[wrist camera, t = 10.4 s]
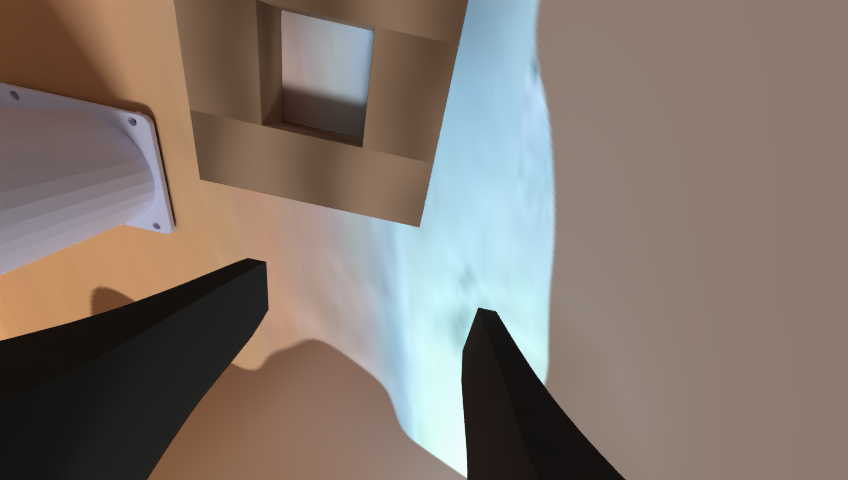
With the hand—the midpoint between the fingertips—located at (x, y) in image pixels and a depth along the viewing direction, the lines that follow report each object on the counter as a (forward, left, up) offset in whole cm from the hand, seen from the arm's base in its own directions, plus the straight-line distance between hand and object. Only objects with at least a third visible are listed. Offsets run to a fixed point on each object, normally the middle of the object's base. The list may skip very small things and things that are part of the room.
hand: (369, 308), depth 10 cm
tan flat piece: (-6, +6, -10) cm, 13 cm away
